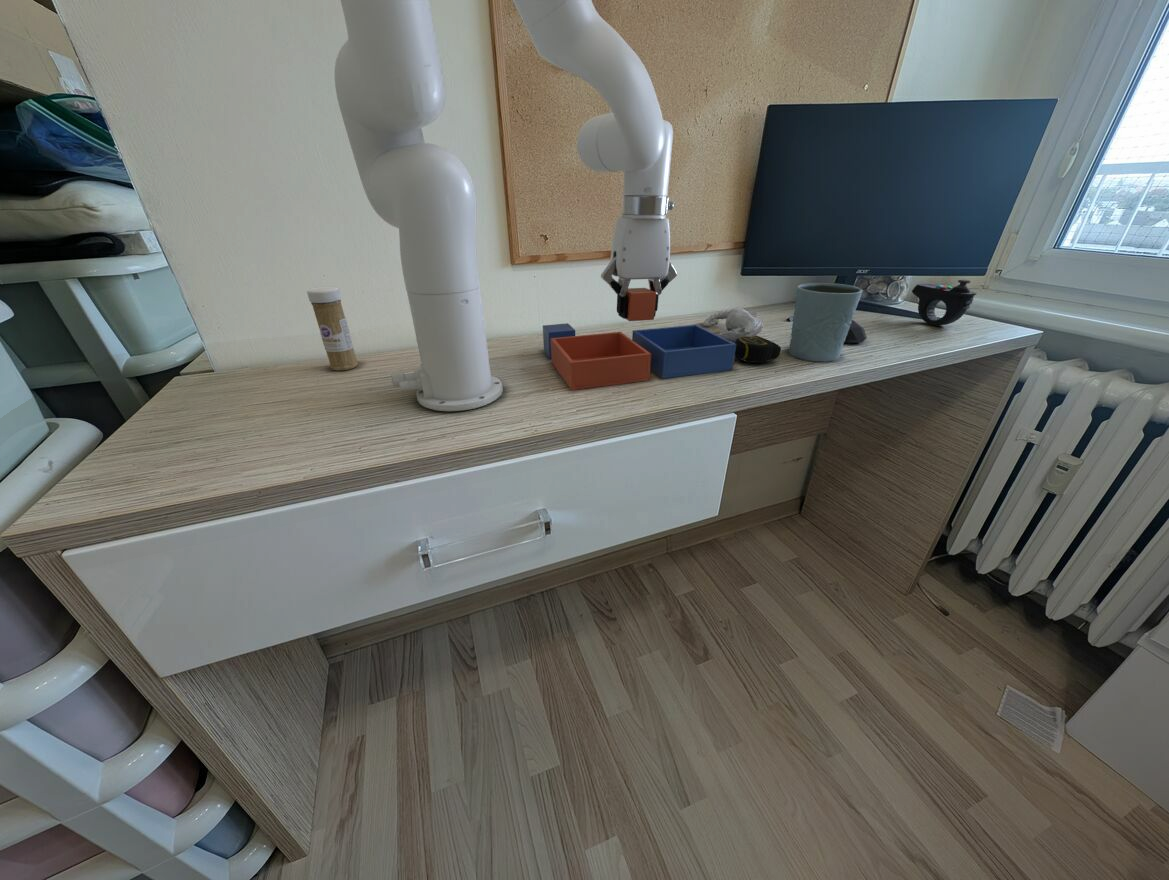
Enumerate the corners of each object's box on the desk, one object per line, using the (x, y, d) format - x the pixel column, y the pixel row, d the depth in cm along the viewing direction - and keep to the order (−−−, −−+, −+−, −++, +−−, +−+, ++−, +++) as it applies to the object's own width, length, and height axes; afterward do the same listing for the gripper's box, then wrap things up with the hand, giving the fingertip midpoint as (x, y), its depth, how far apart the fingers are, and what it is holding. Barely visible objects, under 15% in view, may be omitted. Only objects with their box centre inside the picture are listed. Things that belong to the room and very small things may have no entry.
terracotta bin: (571, 390, 67) (570, 362, 65) (551, 362, 78) (550, 338, 76) (649, 380, 70) (651, 353, 68) (620, 355, 81) (620, 331, 79)
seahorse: (682, 320, 99) (736, 330, 81) (724, 298, 100) (786, 303, 82) (688, 340, 101) (741, 355, 83) (729, 319, 103) (791, 329, 85)
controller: (950, 331, 93) (970, 283, 88) (899, 318, 104) (914, 273, 99) (965, 329, 94) (986, 281, 90) (913, 316, 105) (929, 272, 100)
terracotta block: (629, 321, 81) (631, 293, 78) (619, 315, 85) (621, 288, 82) (653, 319, 82) (656, 292, 79) (643, 313, 86) (645, 287, 84)
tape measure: (780, 364, 77) (784, 343, 75) (747, 368, 75) (751, 347, 73) (755, 352, 82) (759, 332, 81) (724, 356, 81) (727, 336, 79)
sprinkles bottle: (326, 371, 75) (300, 291, 68) (338, 362, 79) (314, 285, 72) (352, 371, 75) (329, 290, 68) (363, 362, 79) (342, 285, 72)
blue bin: (662, 378, 71) (664, 352, 69) (631, 354, 82) (632, 330, 80) (732, 369, 74) (736, 344, 72) (693, 347, 85) (696, 324, 83)
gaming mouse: (818, 324, 99) (822, 306, 97) (872, 343, 87) (879, 323, 85) (794, 327, 97) (799, 308, 95) (847, 346, 85) (853, 326, 83)
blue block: (549, 359, 80) (548, 332, 77) (543, 351, 84) (542, 325, 81) (575, 356, 81) (575, 330, 79) (568, 348, 85) (568, 323, 83)
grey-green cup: (846, 365, 76) (868, 294, 70) (784, 359, 79) (800, 291, 73) (837, 348, 84) (856, 283, 78) (781, 343, 87) (795, 280, 81)
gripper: (678, 208, 80) (667, 309, 89) (590, 208, 75) (588, 314, 84) (699, 209, 74) (685, 318, 82) (604, 208, 69) (601, 323, 78)
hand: (636, 315), depth 83 cm, fingers closed on terracotta block, 5 cm apart
